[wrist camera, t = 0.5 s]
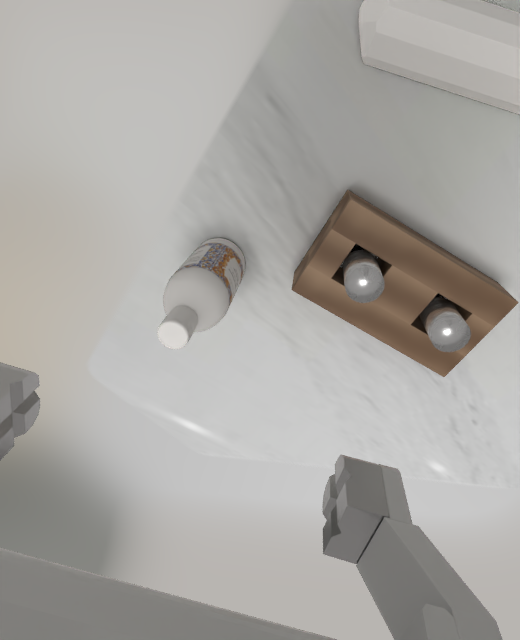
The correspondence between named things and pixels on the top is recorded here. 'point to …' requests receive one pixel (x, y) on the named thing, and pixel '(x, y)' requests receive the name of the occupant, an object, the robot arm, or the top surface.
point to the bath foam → (201, 291)
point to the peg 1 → (362, 277)
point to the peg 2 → (445, 325)
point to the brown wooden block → (398, 283)
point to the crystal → (446, 46)
